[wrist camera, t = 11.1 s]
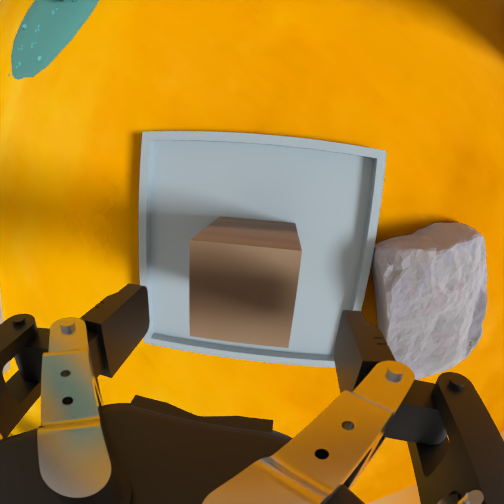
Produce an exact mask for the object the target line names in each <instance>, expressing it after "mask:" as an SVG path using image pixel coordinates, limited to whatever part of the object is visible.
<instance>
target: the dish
mask: <svg viewBox="0 0 504 504" xmlns="http://www.w3.org/2000/svg"><path fill="white" fill-rule="evenodd" d="M385 163H386V151H384V150H379V149H373V148H368V147H362V146H356V145H350V144H343V143H337V142H330V141H322V140H314V139H306V138H297V137H288V136H277V135H266V134H252V133H235V132H211V131H145V132H142V144H141V160H140V179H139V275H140V285H141V286H146V288H147V290H148V303H149V317H150V324H149V329H148V332H147V333H146V335H145V336H144V343H147V344H152V345H157V346H162V347H167V348H172V349H178V350H183V351H189V352H195V353H201V354H207V355H214V356H221V357H228V358H235V359H243V360H251V361H260V362H269V363H280V364H291V365H303V366H318V367H335V362H334V345H335V340H336V336H337V332H338V327H339V323H340V318H341V314H342V311H343V310H355V311H361V310H362V305H363V301H364V296H365V292H366V287H367V282H368V278H369V273H370V267H371V262H372V257H373V251H374V246H375V240H376V234H377V227H378V221H379V214H380V207H381V199H382V191H383V182H384V173H385ZM220 216H222V217H234V218H246V219H257V220H267V221H278V222H288V223H295V224H296V228H297V232H298V236H299V240H300V245H301V249H302V255H301V263H300V271H299V279H298V286H297V294H296V301H295V308H294V315H293V321H292V328H291V334H290V341H289V347H288V348H282V347H272V346H262V345H253V344H244V343H236V342H228V341H220V340H213V339H206V338H199V337H193V336H190V327H189V263H190V240H191V239H192V238H193V237H194V236H196V235H197V234H198V233H199V232H201V231H202V230H203V229H205V228H206V227H207V226H208V225H210V224H211V223H212V222H213V221H215V220H216V219H217V218H218V217H220Z"/></svg>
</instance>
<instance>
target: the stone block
mask: <svg viewBox="0 0 504 504" xmlns="http://www.w3.org/2000/svg"><path fill="white" fill-rule="evenodd" d="M486 258H487V257H486V249H485V241H484V237H483V236H482V235H481V234H480V233H479V232H477V231H476V230H475V229H474V228H471V227H469V226H468V225H465V224H462V223H458V222H451V223H443V222H439V223H433V224H431V225H429V226H427V227H425V228H422V229H418V230H417V231H416V232H415V233H413V234H409V235H401V236H397V237H393V238H389V239H387V240H384V241H382V242H378V243H376V244H375V246H374V251H373V257H372V262H371V271H372V277H373V285H374V293H375V301H376V312H377V321H378V328H379V329H380V330H381V332H382V333H383V335H384V337H385V338H384V339H386V341H387V343H388V344H387V345H388V346H389V348H390V350H391V352H392V354H393V356H394V358H395V360H396V361H397V362H400V363H403V364H405V365H406V366H408V367H409V368H410V369H411V370H412V371H413V372H414V375H415V380H418V379H420V378H424V377H428V376H431V375H434V374H436V373H439V372H443V371H445V370H447V369H450V368H452V367H453V366H455V365H456V364H458V363H459V362H461V361H462V360H464V359H465V358H467V357H468V356H469V354H470V352H471V350H472V349H473V348H475V347H476V345H477V343H478V341H479V340H480V338H481V336H482V333H483V330H482V323H483V319H484V317H485V313H486V306H487V289H486V284H487V266H486V262H485V260H486Z"/></svg>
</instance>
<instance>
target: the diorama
mask: <svg viewBox="0 0 504 504" xmlns="http://www.w3.org/2000/svg"><path fill="white" fill-rule="evenodd" d="M98 1H99V0H35V1H34V2H33V4H32V5H31V7H30V9H29V10H28V12H27V13H26V15H25V17H24V19H23V21H22V23H21V25H20V27H19V29H18V32H17V34H16V37H15V39H14V43H13V50H12V55H11V62H12V75H13V76H14V78H15V79H21V78H24V77H34V76H35V75H36V74H37V73H39V72H40V71H41V70H43V69H44V68H46V67H47V66H48V65H49V64H50V63H51V62H52V60H53V59H54V58H55V57H56V56H57V55H58V54H59V53H60V52H61V51H62V49H63V48H64V47H65V46H66V45H67V44H68V43H69V42H70V41H71V40H72V39H73V37H74V36H75V34H76V33H77V32H78V30H79V29H80V28H81V26H82V25H83V24H84V22H85V21H86V20H87V19H88V17H89V16H90V15H91V13H92V11H93V10H94V8H95V6H96V5H97V3H98ZM9 75H10V74H9Z"/></svg>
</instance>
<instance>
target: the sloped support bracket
mask: <svg viewBox="0 0 504 504" xmlns="http://www.w3.org/2000/svg"><path fill="white" fill-rule="evenodd" d="M2 323H3V315H2V305H1V294H0V324H2ZM9 369H10V361H9V362H8V363H7V364H6V365H5V366H4V368H3V374H4V373H5V372H6V371H7V370H9Z"/></svg>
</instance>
